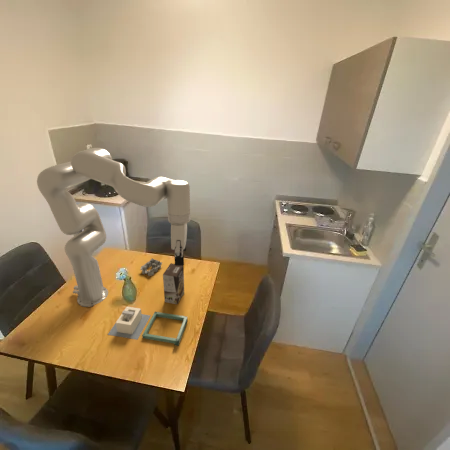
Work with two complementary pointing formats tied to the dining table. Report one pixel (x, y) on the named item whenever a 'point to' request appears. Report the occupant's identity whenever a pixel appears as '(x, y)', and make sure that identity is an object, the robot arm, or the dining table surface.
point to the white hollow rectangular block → (133, 322)
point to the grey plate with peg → (137, 330)
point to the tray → (162, 338)
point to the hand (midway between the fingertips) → (180, 257)
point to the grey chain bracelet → (152, 264)
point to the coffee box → (173, 283)
